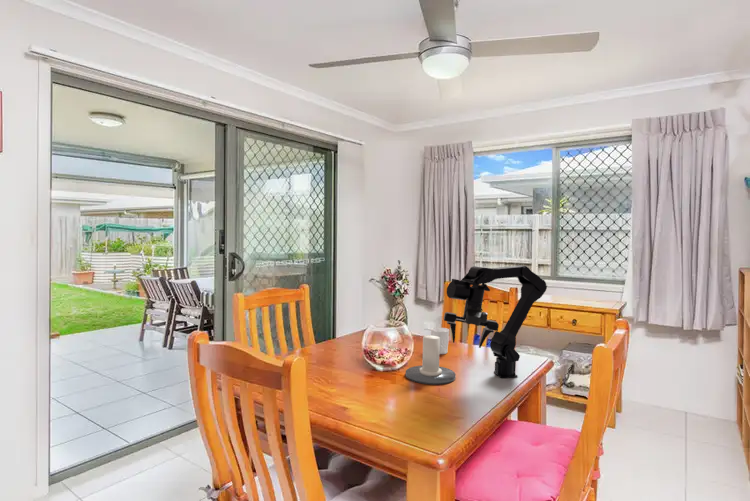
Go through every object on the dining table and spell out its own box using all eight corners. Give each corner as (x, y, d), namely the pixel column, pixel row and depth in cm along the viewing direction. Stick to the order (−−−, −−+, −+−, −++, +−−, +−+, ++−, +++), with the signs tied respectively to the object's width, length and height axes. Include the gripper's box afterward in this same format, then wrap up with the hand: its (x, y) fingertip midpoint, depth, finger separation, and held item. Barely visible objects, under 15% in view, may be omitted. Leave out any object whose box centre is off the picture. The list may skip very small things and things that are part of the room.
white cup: (449, 354, 190) (450, 331, 189) (431, 354, 190) (431, 331, 190) (447, 349, 198) (447, 327, 197) (429, 349, 198) (429, 327, 197)
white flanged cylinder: (443, 371, 164) (444, 336, 163) (438, 377, 157) (439, 341, 156) (422, 368, 167) (423, 334, 166) (416, 374, 160) (417, 338, 159)
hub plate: (445, 367, 172) (445, 364, 172) (463, 383, 155) (463, 379, 155) (400, 369, 169) (400, 366, 169) (413, 386, 151) (413, 382, 151)
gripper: (449, 298, 151) (441, 344, 151) (504, 308, 149) (496, 354, 149) (447, 296, 162) (440, 338, 162) (499, 305, 160) (491, 348, 160)
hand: (466, 345), depth 158 cm, fingers open, 9 cm apart
